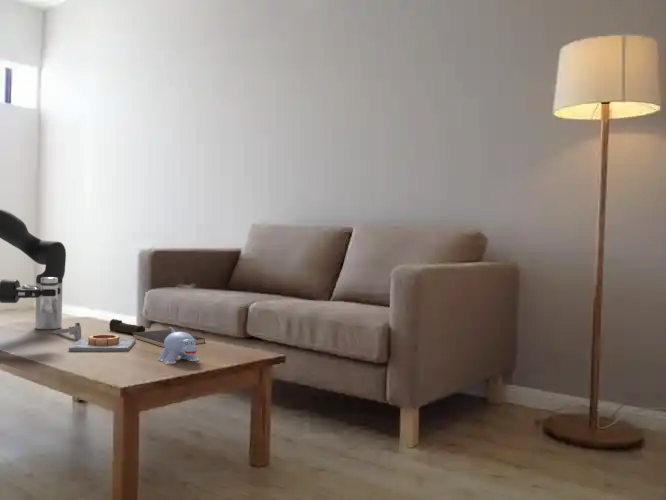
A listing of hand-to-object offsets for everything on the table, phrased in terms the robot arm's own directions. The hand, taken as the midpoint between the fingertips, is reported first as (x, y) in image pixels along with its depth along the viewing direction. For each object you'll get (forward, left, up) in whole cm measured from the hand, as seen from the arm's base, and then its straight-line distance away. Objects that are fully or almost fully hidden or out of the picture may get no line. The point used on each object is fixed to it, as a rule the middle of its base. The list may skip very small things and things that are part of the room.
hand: (57, 291), depth 209 cm
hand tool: (-29, +17, -19) cm, 38 cm away
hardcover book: (-14, +34, -19) cm, 41 cm away
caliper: (-21, -2, -19) cm, 28 cm away
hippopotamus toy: (+22, +41, -18) cm, 50 cm away
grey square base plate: (-2, +14, -18) cm, 23 cm away
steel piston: (0, -3, -7) cm, 7 cm away
